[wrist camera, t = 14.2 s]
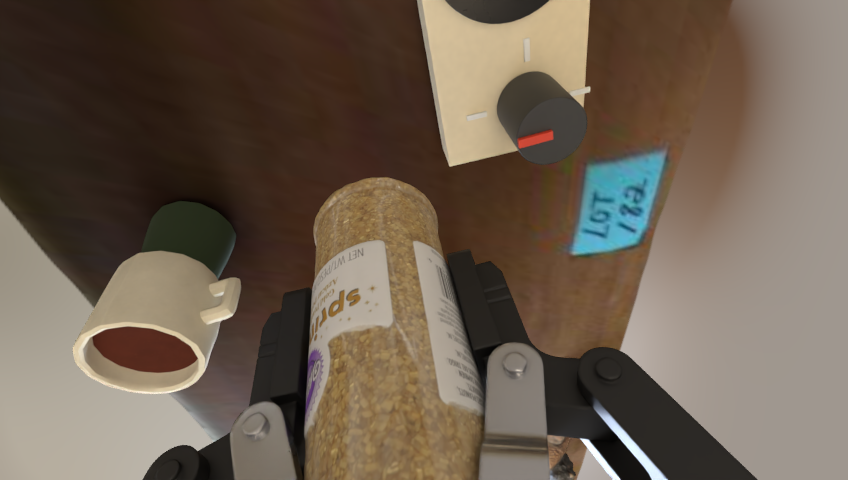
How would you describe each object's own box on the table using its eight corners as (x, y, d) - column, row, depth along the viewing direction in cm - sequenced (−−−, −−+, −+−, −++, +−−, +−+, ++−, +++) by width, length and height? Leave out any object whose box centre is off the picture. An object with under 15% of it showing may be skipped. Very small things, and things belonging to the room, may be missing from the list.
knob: (558, 62, 28) (591, 90, 25) (560, 124, 31) (589, 156, 28) (493, 81, 29) (515, 111, 25) (500, 140, 31) (521, 175, 28)
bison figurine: (528, 374, 58) (557, 451, 50) (579, 369, 58) (615, 443, 51) (514, 421, 65) (537, 494, 57) (559, 415, 66) (588, 486, 58)
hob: (569, 126, 35) (586, 145, 33) (443, 156, 35) (451, 177, 33) (582, -201, 23) (610, -210, 20) (390, -155, 23) (395, -158, 21)
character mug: (162, 275, 39) (101, 413, 29) (104, 214, 34) (7, 353, 24) (279, 240, 38) (257, 369, 28) (236, 173, 33) (192, 298, 24)
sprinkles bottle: (307, 174, 14) (226, 895, 4) (442, 170, 15) (656, 786, 5) (320, 275, 17) (291, 849, 7) (433, 268, 18) (557, 784, 8)
